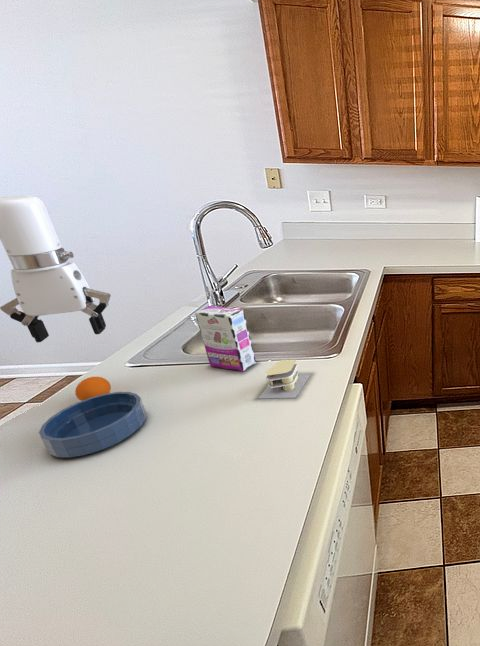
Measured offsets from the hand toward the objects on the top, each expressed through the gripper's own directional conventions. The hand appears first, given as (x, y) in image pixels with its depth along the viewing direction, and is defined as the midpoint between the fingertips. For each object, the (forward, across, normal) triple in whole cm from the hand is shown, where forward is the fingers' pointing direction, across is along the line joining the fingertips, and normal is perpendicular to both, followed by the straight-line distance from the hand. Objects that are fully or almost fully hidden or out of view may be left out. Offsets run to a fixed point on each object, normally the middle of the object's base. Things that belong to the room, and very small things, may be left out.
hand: (72, 335), depth 86 cm
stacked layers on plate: (+18, -39, +8) cm, 44 cm away
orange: (+15, +2, -3) cm, 16 cm away
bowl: (+18, -4, +12) cm, 22 cm away
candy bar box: (+18, -26, -9) cm, 33 cm away
